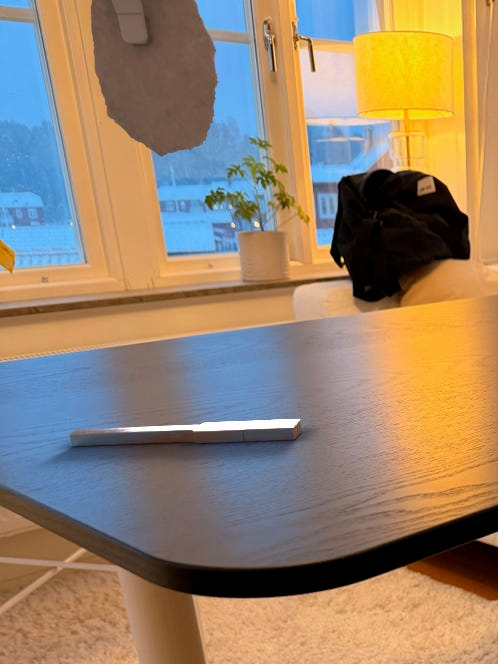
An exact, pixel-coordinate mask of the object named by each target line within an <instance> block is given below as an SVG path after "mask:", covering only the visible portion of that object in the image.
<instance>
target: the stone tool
mask: <svg viewBox="0 0 498 664" xmlns="http://www.w3.org/2000/svg"><path fill="white" fill-rule="evenodd" d="M141 2H142V6H143V10H144V14H145V16H147V17H148V20H149V25H150V33H151V37H152V41H151V44H149V45H147V46H133V45H131V44H128V43H127V42H125V41H124V40H123V39H122V36H121V31H120V25H119V20H118V15H117V13H116V11H115V8H114V6H113V3H112V1H111V0H91V4H90V22H91V23H90V26H91V27H90V29H91V30H90V31H91V36H92V37H91V38H92V42H93V45H92V46H93V51H92V52H93V56H94V57H93V58H94V72H95V75H96V77H97V79H98V85H99V87H100V92H101V94H102V96H103V98H104V105H105V106H106V115H107V117H108V118H109V119H111V120H113V121H114V124H116V125H118V126H119V127H120V128H121V129H123V130H124V132H125V133H127V135H128V136H129V137H130V138H131V139H133V140H134V141H135V142H137V143H142V144H143V145H144V146H145V147H146V148H147V149H149V150H151V151H152V152H154V153H155V154H156V155H157V156H159V157H162V158H163V157H164V156H165V155H168V154H174V153H177V152H179V151H192V150H193V149H194V148H195V147H196V148H197V147H200V146H201V145H204V142H205V141H206V140H207V137H208V135H209V134H208V132H209V130H211V129H210V128H211V124H213V123H214V122H213V117H215V109H214V107H215V102H216V94H217V93H216V89H217V87H218V83H219V80H218V78H219V77H218V73H217V69H216V63H215V61H216V53H217V49H216V46H215V43H214V41H213V39H212V37H211V35H210V34H209V31H208V30H207V28H206V26H205V23H204V20H203V18H202V16H201V14H200V12H199V5H198V3H197V1H196V0H141Z"/></svg>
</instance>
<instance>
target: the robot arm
mask: <svg viewBox="0 0 498 664" xmlns="http://www.w3.org/2000/svg"><path fill="white" fill-rule="evenodd" d="M111 1H112V3H113V6H114V8H115V11H116V13H117V15H118V20H119V25H120V31H121V36H122V39H123V40H124V41H125V42H127V43H128V44H131V45H133V46H147V45H149V44H151V41H152V37H151V33H150V25H149V20H148V17H147V16H145V14H144V10H143V6H142V2H141V0H111Z"/></svg>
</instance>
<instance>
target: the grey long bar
mask: <svg viewBox="0 0 498 664" xmlns="http://www.w3.org/2000/svg"><path fill="white" fill-rule="evenodd" d="M301 433H302V423H301V419H300V418H298V419H297V418H294V419H270V420H267V419H266V420H245V421H243V420H242V421H241V420H240V421H219V422H218V421H217V422H203V423H201V424H187V425H186V424H185V425H163V426H162V425H161V426H138V427H134V426H133V427H112V428H111V427H110V428H109V427H108V428H88V429H87V428H85V429H84V428H83V429H77V430H75V431H73V432H70V433H69V439H70V443H71V446H72V447H90V446H91V447H92V446H93V447H95V446H119V445H144V444H145V445H146V444H147V445H148V444H168V443H169V444H170V443H172V444H173V443H194V444H195V445H196V444H197V445H198V444H221V443H223V444H224V443H243V442H246V443H247V442H268V441H269V442H271V441H272V442H274V441H295V440H296V439H297V438H298V437H299V435H300V434H301Z"/></svg>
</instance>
